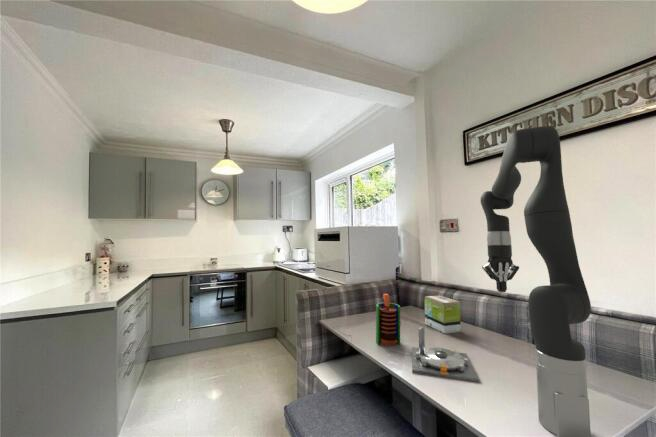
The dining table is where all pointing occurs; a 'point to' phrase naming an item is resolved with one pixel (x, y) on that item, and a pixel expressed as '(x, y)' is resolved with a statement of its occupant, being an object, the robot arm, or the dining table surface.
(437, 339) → the dining table surface
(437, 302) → the tea box
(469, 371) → the base plate
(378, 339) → the motor
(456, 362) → the sprocket
